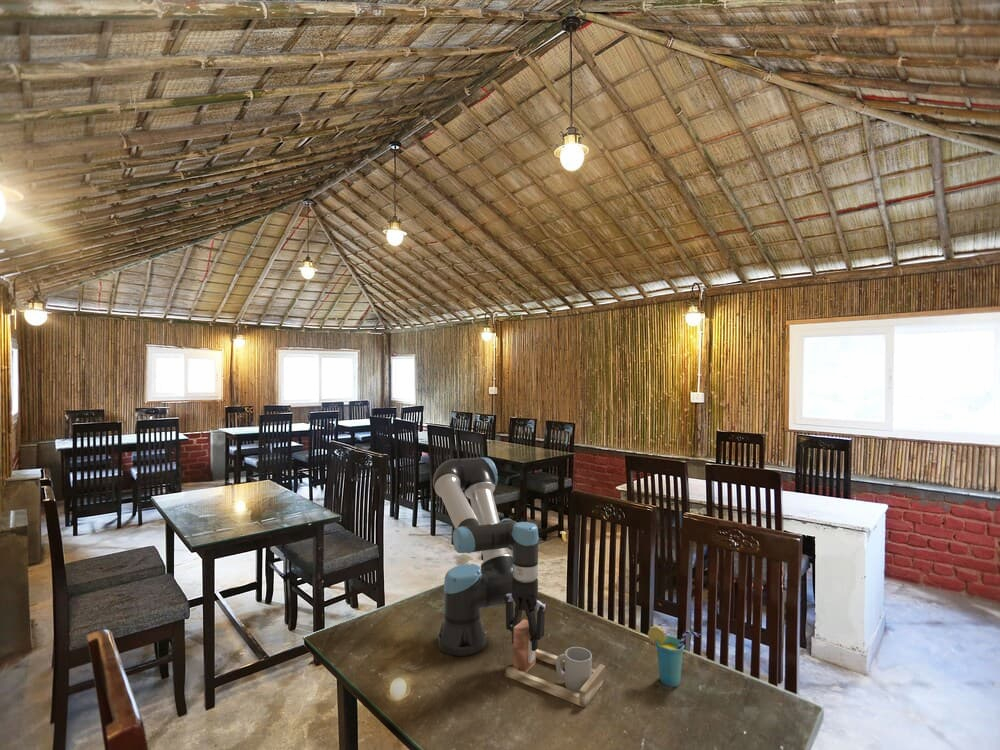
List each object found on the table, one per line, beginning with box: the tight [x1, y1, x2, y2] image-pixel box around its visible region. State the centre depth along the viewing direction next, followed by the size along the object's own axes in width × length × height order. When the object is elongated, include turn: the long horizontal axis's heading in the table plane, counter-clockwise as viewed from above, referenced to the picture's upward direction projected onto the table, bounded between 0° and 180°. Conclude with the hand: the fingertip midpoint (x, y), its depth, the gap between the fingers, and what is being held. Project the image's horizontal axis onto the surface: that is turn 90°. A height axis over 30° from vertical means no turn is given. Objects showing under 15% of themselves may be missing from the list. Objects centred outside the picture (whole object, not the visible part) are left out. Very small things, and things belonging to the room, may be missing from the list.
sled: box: [505, 618, 606, 708], centre depth 137 cm, size 24×14×12 cm, turn 57°
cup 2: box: [647, 626, 701, 688], centre depth 136 cm, size 14×8×15 cm, turn 70°
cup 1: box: [555, 646, 593, 694], centre depth 134 cm, size 7×10×9 cm
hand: (524, 657), depth 143 cm, fingers closed on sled, 4 cm apart
